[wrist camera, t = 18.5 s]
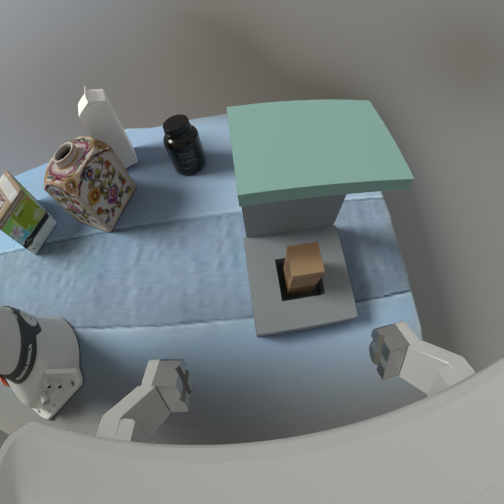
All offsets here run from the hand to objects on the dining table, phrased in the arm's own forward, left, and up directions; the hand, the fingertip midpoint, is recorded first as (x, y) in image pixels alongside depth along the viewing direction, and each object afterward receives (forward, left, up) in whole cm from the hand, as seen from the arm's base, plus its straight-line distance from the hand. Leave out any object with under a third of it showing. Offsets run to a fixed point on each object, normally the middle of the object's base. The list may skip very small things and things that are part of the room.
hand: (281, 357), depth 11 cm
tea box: (-8, +62, -32) cm, 70 cm away
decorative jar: (+7, +45, -32) cm, 55 cm away
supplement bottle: (+24, +34, -32) cm, 52 cm away
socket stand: (+13, +3, -31) cm, 34 cm away
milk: (+18, +50, -32) cm, 61 cm away
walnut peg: (+13, +3, -31) cm, 34 cm away
